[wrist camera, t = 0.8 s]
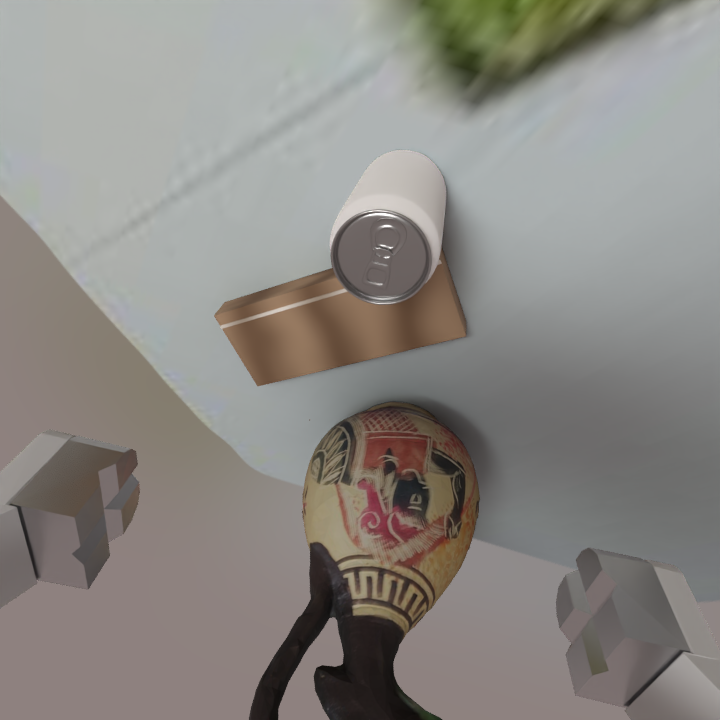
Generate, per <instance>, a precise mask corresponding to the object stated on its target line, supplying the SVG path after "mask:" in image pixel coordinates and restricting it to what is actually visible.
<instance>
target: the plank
mask: <svg viewBox="0 0 720 720" xmlns="http://www.w3.org/2000/svg"><path fill="white" fill-rule="evenodd" d="M214 316H215V318H216V320H217V321H218V323H219V325H220V327H221V329H223V331H224V333H225V334H226V336H227V337H228V339H229V341H230V342H231V344H232V346H233V347H234V349H235V350H236V352H237V354H238V355H239V357H240V358H241V360H242V362H243V363H244V365H245V367H246V368H247V370H248V371H249V373H250V375H251V376H252V378H253V380H254V381H255V383H256V384H257V386H261V385H265V384H269V383H273V382H278V381H282V380H286V379H290V378H294V377H298V376H303V375H307V374H311V373H315V372H319V371H323V370H328V369H332V368H336V367H340V366H344V365H348V364H353V363H357V362H361V361H365V360H369V359H374V358H378V357H382V356H386V355H390V354H394V353H399V352H403V351H407V350H411V349H415V348H419V347H424V346H428V345H432V344H436V343H440V342H444V341H449V340H453V339H457V338H461V337H465V336H466V319H465V316H464V313H463V310H462V307H461V304H460V301H459V298H458V295H457V292H456V289H455V286H454V283H453V280H452V276H451V273H450V270H449V267H448V264H447V261H446V258H445V255H444V252H443V249H442V246H441V252H440V258H439V261H438V264H437V267H436V269H435V271H434V273H433V275H432V276H431V278H430V279H429V280H428V281H427V282H426V283H425V284H424V286H423V287H422V288H421V289H420V290H419V291H418V292H417V293H416V294H415V295H414V296H412V297H411V298H409V299H407V300H405V301H403V302H400V303H397V304H392V305H376V304H371V303H367V302H364V301H362V300H360V299H358V298H356V297H354V296H353V295H352V294H350V293H349V292H348V291H347V290H346V289H345V288H344V287H343V286H342V285H341V284H340V282H339V281H338V279H337V277H336V275H335V273H334V271H333V268H331V269H328V270H325V271H322V272H319V273H316V274H312V275H309V276H306V277H303V278H300V279H297V280H294V281H290V282H287V283H284V284H281V285H278V286H275V287H272V288H268V289H265V290H262V291H259V292H256V293H253V294H250V295H246V296H243V297H240V298H237V299H234V300H231V301H228V302H225V303H224V304H223V305H222V306H221V308H220V309H219V310H218V311H217V313H216V314H215V315H214Z"/></svg>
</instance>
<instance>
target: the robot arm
mask: <svg viewBox="0 0 720 720" xmlns="http://www.w3.org/2000/svg"><path fill="white" fill-rule="evenodd" d="M137 464H138V463H137V455H136V451H135V450H133V449H130V448H126V447H122V446H118V445H114V444H110V443H105V442H101V441H97V440H93V439H89V438H85V437H80V436H75V435H71V434H67V433H63V432H58V431H54V430H47V431H45V432H42V433H40V434H39V435H38V436H37V437H36V438H35V439H34V440H33V441H32V442H31V443H30V444H28V445H27V447H25V448H24V449H23V450H22V451H21V453H19V454H18V455H17V456H16V457H15V458H14V459H13V460H12V461H11V462H10V463H9V464H8V465H7V466H6V467H5V468H4V469H3V470H2V471H1V472H0V608H1V607H3V606H4V605H6V604H7V603H9V602H10V601H12V600H13V599H15V598H16V597H18V596H19V595H21V594H22V593H24V592H25V591H27V590H28V589H30V588H31V587H32V586H34V585H35V584H37V580H40V581H45V582H50V583H56V584H61V585H66V586H72V587H77V588H82V589H89V588H90V586H91V584H92V583H93V581H94V580H95V578H96V577H97V575H98V573H99V572H100V570H101V569H102V567H103V566H104V564H105V562H106V561H107V559H108V558H109V556H110V553H109V544H108V542H110V541H112V540H113V539H115V538H117V537H119V536H121V535H122V534H124V532H125V531H126V529H127V527H128V525H129V524H130V522H131V520H132V518H133V515H134V513H135V510H136V508H137V505H138V500H139V493H140V490H139V482H138V481H137V479H136V478H135V477H134V476H133V475H132V472H133V470H134V469H135V468H136V466H137ZM576 562H577V566H578V570H576V571H574V572H571V573H569V574H567V575H566V576H565V577H564V579H563V581H562V582H561V584H560V586H559V588H558V594H557V599H556V610H557V618H558V622H559V628H560V630H561V631H562V632H563V633H564V635H565V636H566V637H567V638H568V640H569V641H570V642H571V645H570V647H569V649H568V651H567V653H566V658H567V662H568V666H569V670H570V675H571V679H572V683H573V688H574V691H575V695H576V696H580V697H583V698H587V699H591V700H596V701H600V702H604V703H608V704H612V705H616V706H620V707H624V708H627V709H626V710H625V712H626V713H627V715H628V716H629V718H630V719H631V720H720V649H719V647H718V644H717V642H716V640H715V638H714V636H713V634H712V632H711V630H710V628H709V626H708V624H707V622H706V620H705V618H704V616H703V614H702V612H701V610H700V608H699V606H698V604H697V602H696V600H695V598H694V596H693V594H692V592H691V590H690V588H689V586H688V584H687V582H686V580H685V578H684V576H683V574H682V572H681V571H680V570H679V569H678V568H677V567H676V566H674V565H670V564H665V563H660V562H656V561H651V560H643V559H642V558H638V557H633V556H628V555H623V554H618V553H613V552H609V551H604V550H599V549H594V548H587V549H585V550H583V551H582V552H581V553H580V554H579V556H578V557H577V559H576Z"/></svg>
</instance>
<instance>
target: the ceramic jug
mask: <svg viewBox="0 0 720 720" xmlns="http://www.w3.org/2000/svg"><path fill="white" fill-rule="evenodd" d="M309 421H310V420H309ZM479 500H480V497H479V489H478V482H477V478H476V474H475V469H474V466H473V463H472V461H471V458H470V456H469V454H468V452H467V450H466V448H465V446H464V445H463V443H462V442H461V441H460V439H459V438H458V437H457V436H456V435H455V434H454V433H453V432H452V431H451V430H450V429H449V428H448V427H447V426H445V425H444V424H442V423H440V422H439V421H438V420H437V419H436V418H435V417H434V416H433V415H432V414H430V413H429V412H428V411H426V410H424V409H422V408H420V407H418V406H416V405H413V404H409V403H402V402H387V403H383V404H380V405H377V406H373V407H372V408H370V409H368V410H367V411H363V412H360V413H357V414H355V415H353V416H351V417H349V418H347V419H345V420H343V421H341V422H339V423H338V424H336V425H335V426H334V427H333V428H332V429H331V430H330V431H329V432H328V433H327V434H326V435H325V436H324V437H323V439H322V440H321V441H320V443H319V444H318V446H317V447H316V449H315V451H314V454H313V456H312V458H311V460H310V463H309V467H308V470H307V474H306V478H305V485H304V491H303V511H302V513H303V520H304V527H305V533H306V538H307V542H308V546H309V548H310V572H309V575H310V594H311V600H310V602H309V604H308V606H307V607H306V609H305V611H304V612H303V614H302V615H301V616H300V617H298V619H297V621H296V622H295V624H294V626H293V628H292V629H291V631H290V633H289V635H288V637H287V638H286V640H285V641H284V642H283V644H282V645H281V647H280V648H279V650H278V651H277V653H276V654H275V656H274V657H273V659H272V661H271V662H270V664H269V666H268V668H267V670H266V671H265V673H264V674H263V676H262V678H261V680H260V682H259V685H258V687H257V689H256V692H255V697H254V700H253V703H252V706H251V711H250V717H249V720H278V708H279V705H280V702H281V700H282V697H283V695H284V692H285V690H286V687H287V684H288V682H289V680H290V678H291V677H292V675H293V673H294V671H295V670H296V668H297V666H298V665H299V663H300V661H301V659H302V657H303V655H304V654H305V652H306V651H307V649H308V647H309V646H310V645H311V644H312V643H313V641H314V640H315V639H316V638H317V636H318V635H319V634H320V632H321V631H322V629H323V628H324V626H325V624H326V623H327V621H328V619H329V618H332V617H335V618H336V619H337V622H338V630H339V635H340V639H341V643H342V647H343V652H344V659H343V664H342V665H341V666H337V667H332V666H323V665H322V666H320V667H317V668H316V671H315V674H314V682H315V691H316V693H317V695H318V697H319V700H320V702H321V704H322V707H323V709H324V711H325V712H326V714H327V716H328V717H329V719H330V720H442V719H441V718H439V717H437V716H435V715H433V714H431V713H429V712H427V711H425V710H424V709H423V708H422V707H421V706H419V705H418V704H417V703H416V702H414V701H413V700H412V699H411V698H410V697H408V696H407V695H406V694H405V693H404V692H403V691H402V690H401V688H400V687H399V686H398V684H397V682H396V680H395V677H394V671H393V661H394V658H395V655H396V653H397V651H398V648H399V644H400V643H401V642H402V640H403V639H404V637H405V635H406V633H408V632H409V631H410V630H411V629H412V628H413V627H415V626H416V624H417V623H418V622H419V621H420V620H421V619H422V618H423V616H424V615H425V614H426V613H427V612H428V611H429V610H430V609H431V608H432V607H433V606H434V604H435V603H436V601H437V600H438V599H439V597H440V596H441V595H442V594H443V592H444V591H445V589H446V588H447V587H448V586H449V584H450V583H451V581H452V579H453V578H454V577H455V575H456V574H457V572H458V571H459V569H460V567H461V565H462V563H463V561H464V559H465V556H466V554H467V551H468V549H469V547H470V544H471V541H472V537H473V534H474V530H475V525H476V520H477V518H478V513H479Z"/></svg>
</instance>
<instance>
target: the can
mask: <svg viewBox="0 0 720 720" xmlns="http://www.w3.org/2000/svg"><path fill="white" fill-rule="evenodd" d="M445 208H446V186H445V181H444V178H443V176H442V174H441V172H440V170H439V169H438V167H437V166H436V165H435V164H434V163H433V162H432V161H431V160H430V159H429V158H428V157H426V156H425V155H423V154H421V153H418V152H415V151H409V150H395V151H390V152H387V153H385V154H383V155H381V156H379V157H378V158H377V159H375V160H374V161H373V162H372V163H371V164H370V165H369V166H368V168H367V169H366V170H365V172H364V173H363V175H362V177H361V178H360V180H359V181H358V183H357V185H356V186H355V188H354V189H353V191H352V193H351V194H350V196H349V198H348V199H347V201H346V203H345V204H344V206H343V208H342V209H341V211H340V213H339V215H338V217H337V218H336V220H335V223H334V225H333V228H332V232H331V237H330V251H331V263H332V267H333V271H334V273H335V275H336V277H337V279H338V281H339V282H340V284H341V285H342V286H343V287H344V288H345V289H346V290H347V291H348V292H349V293H350V294H352V295H353V296H354V297H356V298H358V299H360V300H362V301H364V302H367V303H371V304H376V305H392V304H397V303H400V302H403V301H405V300H407V299H409V298H411V297H412V296H414V295H415V294H416V293H417V292H418V291H419V290H420V289H421V288H422V287H423V286H424V284H425V283H426V282H427V281H428V280H429V279H430V278H431V276H432V275H433V273H434V271H435V269H436V267H437V264H438V261H439V258H440V252H441V245H442V237H443V228H444V218H445Z"/></svg>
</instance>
